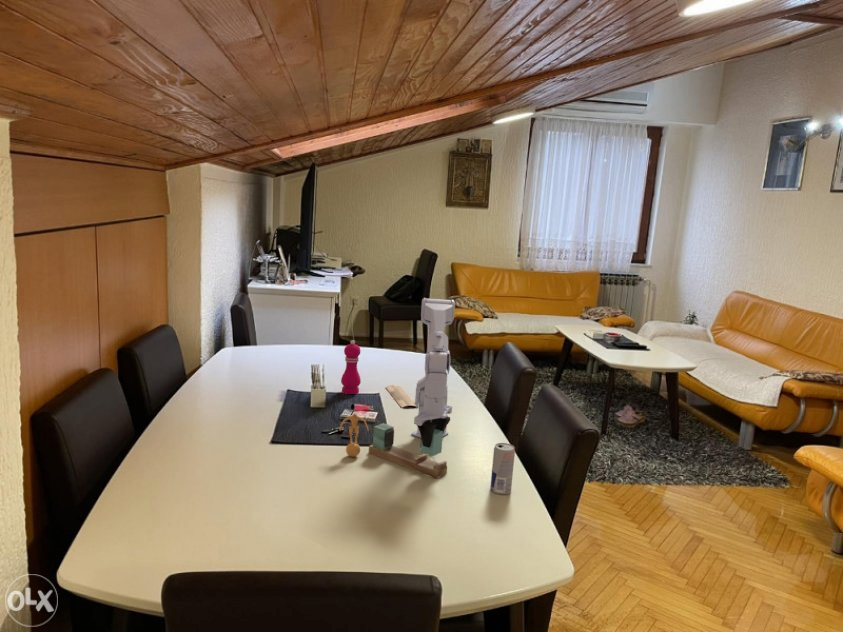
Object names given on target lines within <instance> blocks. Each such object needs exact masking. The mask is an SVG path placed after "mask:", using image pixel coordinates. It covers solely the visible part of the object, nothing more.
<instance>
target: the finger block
mask: <svg viewBox="0 0 843 632" xmlns="http://www.w3.org/2000/svg"><path fill="white" fill-rule="evenodd" d="M443 438H444V436H443V431H440V430H437V429H435V430H434V432H433V436H432V442H431V446H430V447H429V448H428V447H425V446H423V444H422V438H420V445H419V446H420V453H422V454H427V456H430V457H434V456H437V455H438V454H441V453H442V449H443V446H442V445H443Z"/></svg>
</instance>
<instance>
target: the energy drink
mask: <svg viewBox="0 0 843 632" xmlns="http://www.w3.org/2000/svg"><path fill="white" fill-rule="evenodd" d="M515 450H516V449H515V446H514V445H513V444H510V443H507V442H506V443H505V442H499V443H498V442H497V443H496V444H495V445H494V447H493V454H492V455H493V456H492V466H491V477H490V491H491V492H493V493H494V494H497V495H502V496H503V495H508V494H510V493H511V492H512V485H513V475H514V466H515V465H514V463H515V456H516V451H515Z"/></svg>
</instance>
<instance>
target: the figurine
mask: <svg viewBox="0 0 843 632" xmlns="http://www.w3.org/2000/svg"><path fill="white" fill-rule="evenodd" d="M348 420H350V422H351V425H349V427H348V428H349V430H348V431H349V438H350V439H349V441H350V442H349V443H348V444H347V446H346V447H345V451H346V454H347V456H348V457H350V458H351V457H352V458H354V457H357V456H359V455H360V452H361V447H360V445H359V443H358V437H359V433H360V431H359V429H360V426H359V425H358V423H359V421H362V422H364V425H365V427H366V430H367V432H369V426H368V424H367V421H366V419H364V418H362V417H361V416H358V414H356V413H353V414H352V415H350V416H348V417H346V418H344V419H343V420H342V422H341V423H340V426H339V429H338V430H339V431H340V432H341V429H342V427H343V426H344V423H345V421H348ZM353 432H354V433H355V436H354V437H355V438H354V439H355V440H354V442H353V434H352V433H353Z"/></svg>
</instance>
